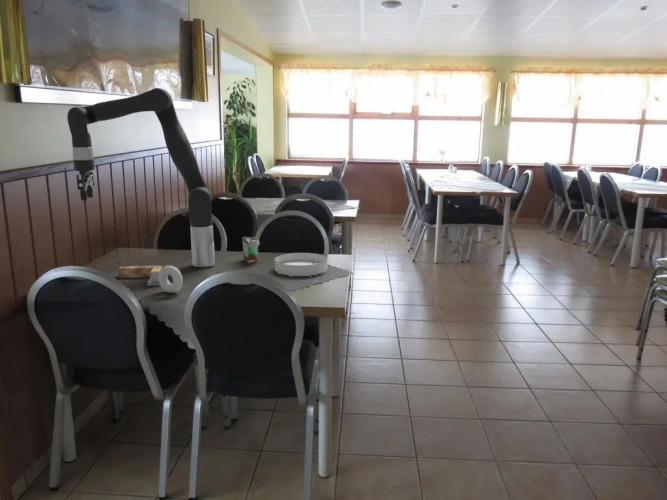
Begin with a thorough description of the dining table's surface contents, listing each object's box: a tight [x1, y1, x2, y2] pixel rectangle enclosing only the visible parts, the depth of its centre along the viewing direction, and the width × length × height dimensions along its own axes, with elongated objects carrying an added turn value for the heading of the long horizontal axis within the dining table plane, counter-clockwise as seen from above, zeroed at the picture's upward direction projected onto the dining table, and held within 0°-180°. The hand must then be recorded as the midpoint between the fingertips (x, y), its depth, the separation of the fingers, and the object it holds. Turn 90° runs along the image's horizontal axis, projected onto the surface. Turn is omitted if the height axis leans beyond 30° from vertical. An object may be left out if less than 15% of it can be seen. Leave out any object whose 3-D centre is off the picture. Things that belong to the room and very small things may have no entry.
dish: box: [274, 252, 328, 275], centre depth 230 cm, size 22×22×5 cm
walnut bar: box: [118, 264, 163, 279], centre depth 219 cm, size 16×4×4 cm, turn 98°
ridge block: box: [146, 265, 163, 286], centre depth 210 cm, size 6×8×6 cm
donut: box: [158, 265, 184, 294], centre depth 197 cm, size 10×4×10 cm, turn 67°
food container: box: [241, 236, 260, 265], centre depth 243 cm, size 12×6×10 cm, turn 22°
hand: (87, 198), depth 224 cm, fingers open, 8 cm apart
